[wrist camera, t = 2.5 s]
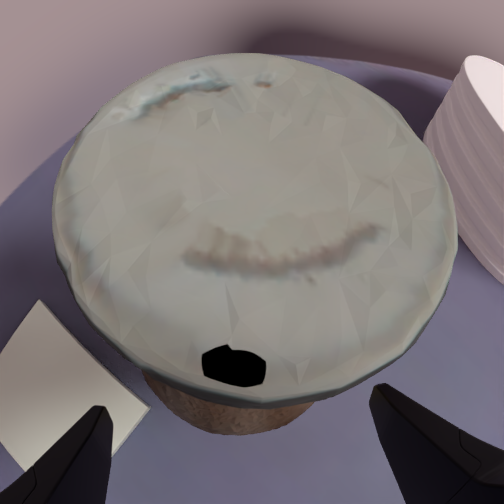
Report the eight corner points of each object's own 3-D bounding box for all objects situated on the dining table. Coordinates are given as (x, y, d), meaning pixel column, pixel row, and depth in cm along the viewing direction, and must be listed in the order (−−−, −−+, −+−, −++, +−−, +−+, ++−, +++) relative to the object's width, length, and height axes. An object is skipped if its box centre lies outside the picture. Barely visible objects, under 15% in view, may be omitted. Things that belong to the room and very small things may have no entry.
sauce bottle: (261, 427, 19) (456, 601, 1) (173, 395, 19) (-113, 355, 1) (292, 341, 21) (500, 111, 3) (207, 311, 22) (143, 7, 4)
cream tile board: (69, 509, 14) (65, 512, 14) (-23, 401, 17) (-28, 400, 16) (151, 407, 19) (148, 407, 18) (43, 302, 21) (38, 299, 20)
